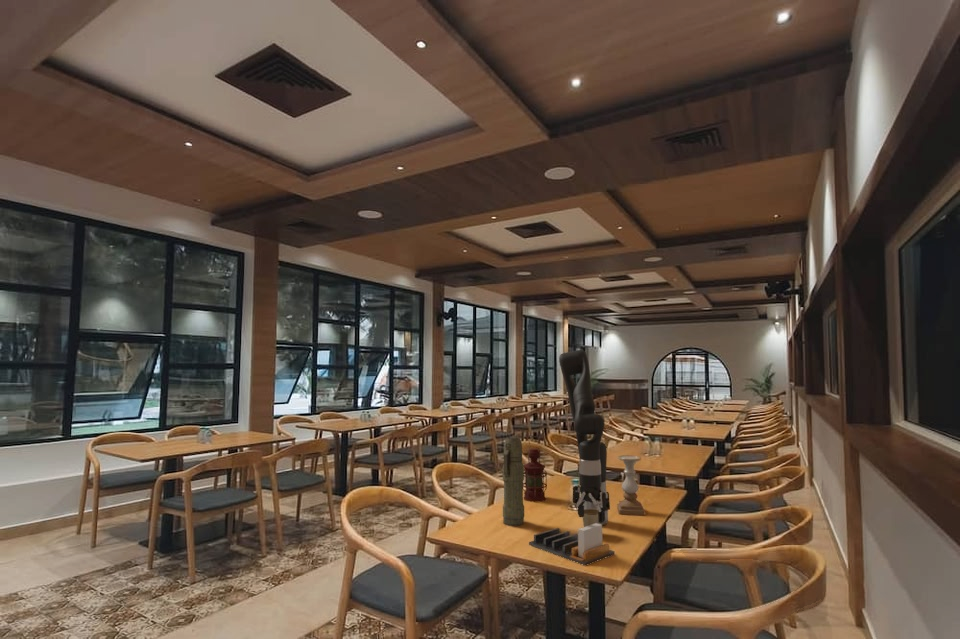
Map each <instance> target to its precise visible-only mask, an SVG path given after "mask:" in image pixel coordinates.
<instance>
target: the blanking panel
mask: <svg viewBox="0 0 960 639" xmlns="http://www.w3.org/2000/svg"><path fill="white" fill-rule="evenodd" d="M577 534H578V556H579V557H582V558H583V552H585V551H588V550H591V549H593V548H596V547H599V546H602V545H603V525H601V524H597V523H596V524H592V525H589V526H586V527H584V526H583V527H581V528H578V529H577Z"/></svg>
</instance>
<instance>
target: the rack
mask: <svg viewBox="0 0 960 639" xmlns="http://www.w3.org/2000/svg"><path fill="white" fill-rule="evenodd" d="M560 530H561V528H559V527H554V528H553V529H549V530H545V531H542V532H539V533H536V534H533V540H531V541H529V542H528V545H529V546H530V545H531V547H532V548H533V547H534V548H536V549H538V550H539V549H540V550H541V549H542V551H544V550H545V551H544V552H547V551H548V552H547V553H549V552H550V554H552V553H553V554H552V555H555V556H557V555H558V556H557V557H560V556H561V557H560V558H563V557H564V558H563V559H565V558H566V560H568V559H569V560H568V561H571V560H572V561H571V562H573V561H575V562H574V563H576V562H578V563H577V564H579V563H580V564H579V565H581V564H583V565H582V566H584V565H586V566H588V565H587V564H589V565H591V564H593V563H592V562H594V563H596V562H598V561H597V560H599V561H601V560H604V559H606V558H605V557H607V558H609V557H612V556H613V555H615V554H616V553H615V551H614V550H611V549H610V544H609V543H604V544H602V546H599V547H596V548H593V549H591V550H588V551H585V552H583V558H582V557H579V556H578V533H573V534H571V532H570V530H567V531H563V532H560ZM570 534H571V535H570ZM611 555H612V556H611ZM608 556H609V557H608ZM603 558H604V559H603ZM600 559H601V560H600ZM595 561H596V562H595ZM590 563H591V564H590Z"/></svg>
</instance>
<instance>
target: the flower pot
mask: <svg viewBox="0 0 960 639" xmlns="http://www.w3.org/2000/svg"><path fill="white" fill-rule="evenodd" d="M598 512H599V511H598V509H584V517H581V518H582V523H583V524H582V525H583V527H586V526H589V525H592V524H596V523H597V524H601V525H602V523H599V522H598ZM602 526H603V525H602Z"/></svg>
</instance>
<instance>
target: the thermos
mask: <svg viewBox="0 0 960 639" xmlns="http://www.w3.org/2000/svg"><path fill="white" fill-rule="evenodd" d="M523 465H524V463H523V443H522V439H521V438H520V437H518V436H507V438H505V440H504V444H503V464H502V481H503V504H502V517H503V518H502V519H503V520H502V523H503V525H506V526H510V527H518V526H522V524H523V525H524V523H525V505H524V490H523V489H524V487H523V483H524V481H525V477H524V475H525V474H524V471H525V470H524V466H523Z"/></svg>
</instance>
